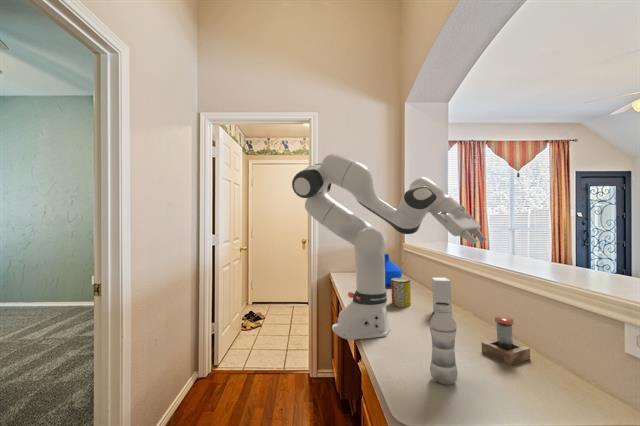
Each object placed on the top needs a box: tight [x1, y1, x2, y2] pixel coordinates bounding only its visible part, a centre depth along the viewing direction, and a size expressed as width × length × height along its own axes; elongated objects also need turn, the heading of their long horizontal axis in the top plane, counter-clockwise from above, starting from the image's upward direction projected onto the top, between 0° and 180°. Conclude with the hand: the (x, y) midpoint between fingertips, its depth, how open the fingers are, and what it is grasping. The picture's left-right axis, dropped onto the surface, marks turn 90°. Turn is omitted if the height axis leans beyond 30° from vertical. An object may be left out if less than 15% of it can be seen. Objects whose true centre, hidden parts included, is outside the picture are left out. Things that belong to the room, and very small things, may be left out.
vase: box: [385, 253, 403, 287], centre depth 185 cm, size 18×18×19 cm
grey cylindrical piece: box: [494, 315, 515, 351], centre depth 89 cm, size 5×5×11 cm
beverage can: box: [390, 277, 412, 308], centre depth 142 cm, size 9×9×12 cm
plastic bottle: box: [429, 302, 459, 386], centre depth 75 cm, size 6×7×20 cm
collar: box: [481, 337, 531, 366], centre depth 89 cm, size 9×9×3 cm
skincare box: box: [431, 277, 453, 317], centre depth 126 cm, size 8×7×16 cm
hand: (480, 242), depth 93 cm, fingers open, 8 cm apart
